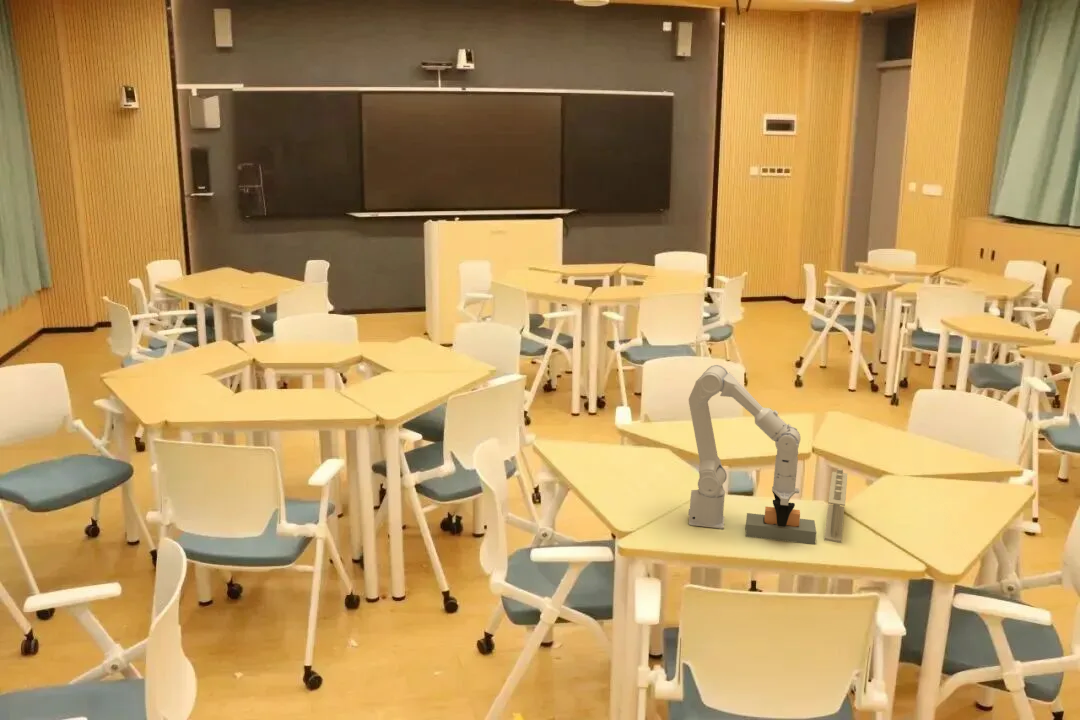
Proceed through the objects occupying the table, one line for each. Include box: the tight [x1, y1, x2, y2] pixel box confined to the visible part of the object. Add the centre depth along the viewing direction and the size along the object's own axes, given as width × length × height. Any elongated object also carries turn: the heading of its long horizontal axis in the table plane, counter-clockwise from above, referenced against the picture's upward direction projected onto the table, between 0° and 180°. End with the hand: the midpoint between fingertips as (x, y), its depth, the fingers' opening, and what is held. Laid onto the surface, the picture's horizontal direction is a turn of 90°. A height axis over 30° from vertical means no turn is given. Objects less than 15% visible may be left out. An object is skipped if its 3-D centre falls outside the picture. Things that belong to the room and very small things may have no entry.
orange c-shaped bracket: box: [764, 506, 801, 527], centre depth 247 cm, size 9×3×6 cm, turn 77°
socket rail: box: [745, 512, 817, 545], centre depth 247 cm, size 18×8×4 cm, turn 77°
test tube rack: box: [823, 467, 848, 544], centre depth 254 cm, size 25×4×13 cm, turn 160°
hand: (781, 520), depth 247 cm, fingers open, 7 cm apart
